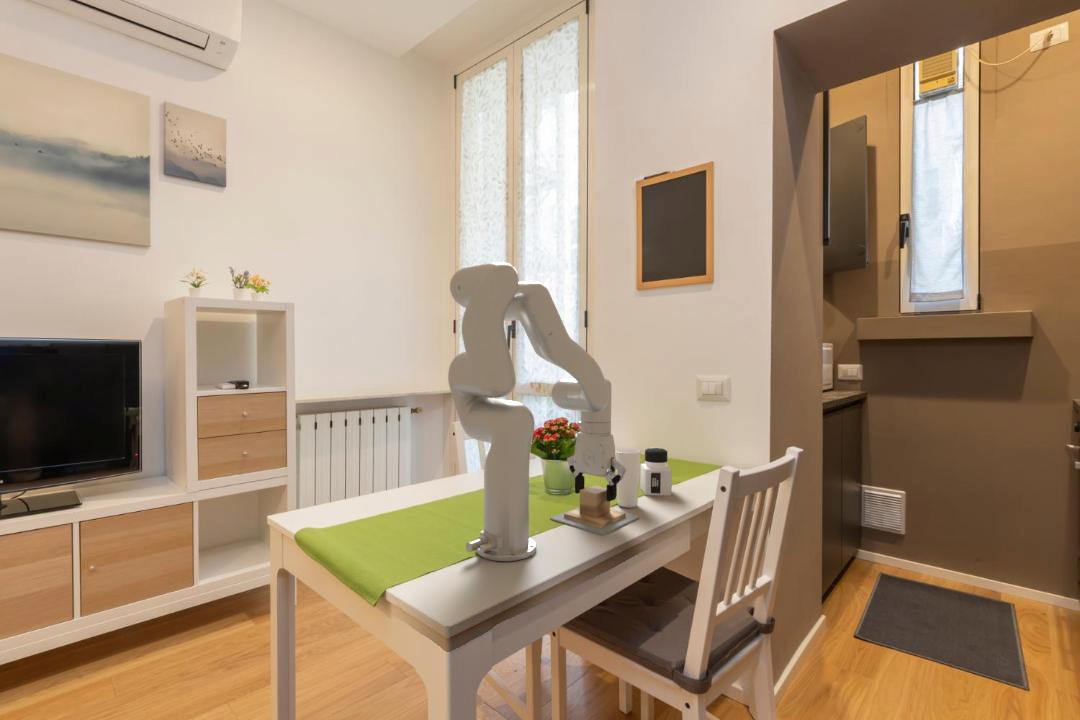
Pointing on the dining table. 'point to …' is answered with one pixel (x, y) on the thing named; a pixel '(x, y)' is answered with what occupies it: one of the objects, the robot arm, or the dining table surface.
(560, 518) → the mat
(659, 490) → the container
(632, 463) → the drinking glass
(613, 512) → the lid
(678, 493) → the dining table surface
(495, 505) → the robot arm
